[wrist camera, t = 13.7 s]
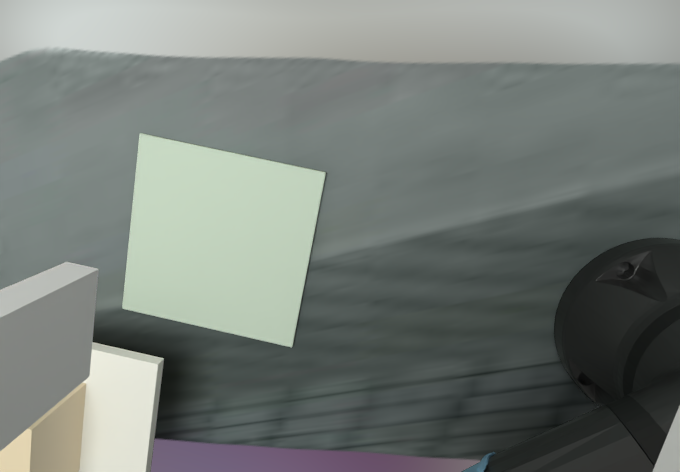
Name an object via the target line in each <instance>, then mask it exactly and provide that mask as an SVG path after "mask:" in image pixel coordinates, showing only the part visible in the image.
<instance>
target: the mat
mask: <svg viewBox="0 0 680 472" xmlns="http://www.w3.org/2000/svg"><path fill="white" fill-rule="evenodd" d="M325 176H326V172H323V171H318V170H313V169H309V168H304V167H299V166H294V165H290V164H285V163H280V162H276V161H271V160H266V159H261V158H257V157H252V156H247V155H242V154H238V153H233V152H228V151H223V150H219V149H214V148H209V147H205V146H200V145H195V144H190V143H186V142H181V141H176V140H171V139H167V138H162V137H157V136H152V135H148V134H143V133H141V134H140V136H139V146H138V156H137V166H136V176H135V186H134V196H133V206H132V216H131V226H130V236H129V246H128V256H127V266H126V276H125V286H124V296H123V306H122V309H127V310H131V311H135V312H140V313H144V314H149V315H153V316H157V317H162V318H166V319H170V320H175V321H179V322H183V323H188V324H192V325H197V326H201V327H205V328H210V329H214V330H218V331H223V332H227V333H231V334H236V335H240V336H245V337H249V338H253V339H258V340H262V341H266V342H271V343H275V344H279V345H284V346H288V347H292V346H293V342H294V337H295V332H296V327H297V321H298V316H299V311H300V306H301V301H302V296H303V290H304V285H305V280H306V275H307V270H308V264H309V259H310V254H311V249H312V244H313V238H314V233H315V228H316V223H317V218H318V212H319V207H320V202H321V197H322V192H323V186H324V181H325Z"/></svg>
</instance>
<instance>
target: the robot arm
mask: <svg viewBox="0 0 680 472" xmlns="http://www.w3.org/2000/svg"><path fill="white" fill-rule="evenodd" d="M98 272H99V269H96V268H92V267H87V266H83V265H78V264H74V263H69V262H65V263H63V264H60V265H58V266H56V267H53V268H51V269H49V270H46V271H44V272H42V273H39V274H37V275H34V276H32V277H30V278H27V279H25V280H23V281H20V282H18V283H15V284H13V285H11V286H8V287H6V288H4V289H1V290H0V451H1V450H3V449H4V448H5V447H6V446H7V445H9V444H10V443H11V442H12V441H13V440H14V439H16V438H17V437H18V436H19V435H20V434H22V433H23V432H24V431H25V430H26V429H28V428H29V427H30V426H31V425H32V424H34V423H35V422H36V421H37V420H38V419H39V418H41V417H42V416H43V415H44V414H45V413H47V412H48V411H49V410H50V409H51V408H53V407H54V406H55V405H56V404H57V403H59V402H60V401H61V400H62V399H63V398H65V397H66V396H67V395H68V394H69V393H70V392H72V391H73V390H74V389H75V388H76V387H78V386H79V385H80V384H81V383H82V382H84V381H85V380H86V379H87V378H88V377H89V376H90V364H91V353H92V341H93V330H94V318H95V306H96V295H97V283H98ZM554 334H555V343H556V348H557V351H558V355H559V357H560V360H561V362H562V364H563V366H564V367H565V369H566V371H567V372H568V373H569V375H570V376H571V377H572V379H573V380H574V381H575V383H576V384H577V385H578V387H579V388H580V389H581V390H582V391H583V392H584V393H585V394H586V395H587V396H588V397H589V398H590V399H591V400H593V401H594V402H595V403H597V404H598V405H599V406H601V407H599V408H597V409H595V410H593V411H591V412H588V413H586V414H584V415H582V416H580V417H577V418H575V419H573V420H571V421H569V422H566V423H564V424H562V425H560V426H557V427H555V428H553V429H551V430H549V431H546V432H544V433H542V434H540V435H538V436H535V437H533V438H531V439H529V440H526V441H524V442H522V443H520V444H518V445H515V446H513V447H511V448H509V449H507V450H504V451H502V452H500V453H498V454H496V453H494V452H492V453H489V454H487V455H485V456H484V457H483V458H482V460H481V461H480V462H479V463H477V464H475V465H473V466H471V467H469V468H468V469H466V470H464V471H462V472H680V240H676V239H668V238H650V239H642V240H636V241H632V242H628V243H625V244H622V245H620V246H617V247H614V248H612V249H610V250H608V251H606V252H604V253H603V254H601V255H599V256H598V257H596V258H595V259H594V260H592V261H591V262H590V263H588V264H587V265H586V266H585V267H584V268H583V269H582V270H581V271H580V272H579V273H578V274H577V275H576V276H575V277H574V279H573V280H572V281H571V282H570V284H569V285H568V287H567V289H566V290H565V292H564V294H563V296H562V298H561V300H560V303H559V306H558V309H557V313H556V318H555V327H554Z"/></svg>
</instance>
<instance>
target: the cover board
mask: <svg viewBox="0 0 680 472" xmlns="http://www.w3.org/2000/svg"><path fill="white" fill-rule="evenodd" d="M163 363H164V358H160V357H156V356H151V355H147V354H143V353H138V352H134V351H130V350H125V349H121V348H116V347H112V346H108V345H103V344H99V343H94V342H92V353H91V364H90V376H89V377H88V378H87V379H86V380H85V381H84V382H82V383H81V384H80V385H79V386H78V387H76V388H75V389H74V390H73V391H72V392H70V393H69V394H68V395H67V396H66V397H65V398H63V399H62V400H61V401H60V402H59V403H57V404H56V405H55V406H54V407H53V408H51V409H50V410H49V411H48V412H47V413H45V414H44V415H43V416H42V417H41V418H39V419H38V420H37V421H36V422H35V423H34V424H32V425H31V426H30V427H29V428H28V429H26V430H25V431H24V432H23V433H22V434H20V435H19V436H18V437H17V438H16V439H14V440H13V441H12V442H11V443H10V444H9V445H7V446H6V447H5V448H4V449H3V450H1V451H0V472H150V471H151V463H152V455H153V446H154V438H155V430H156V421H157V413H158V404H159V396H160V388H161V379H162V371H163Z"/></svg>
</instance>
